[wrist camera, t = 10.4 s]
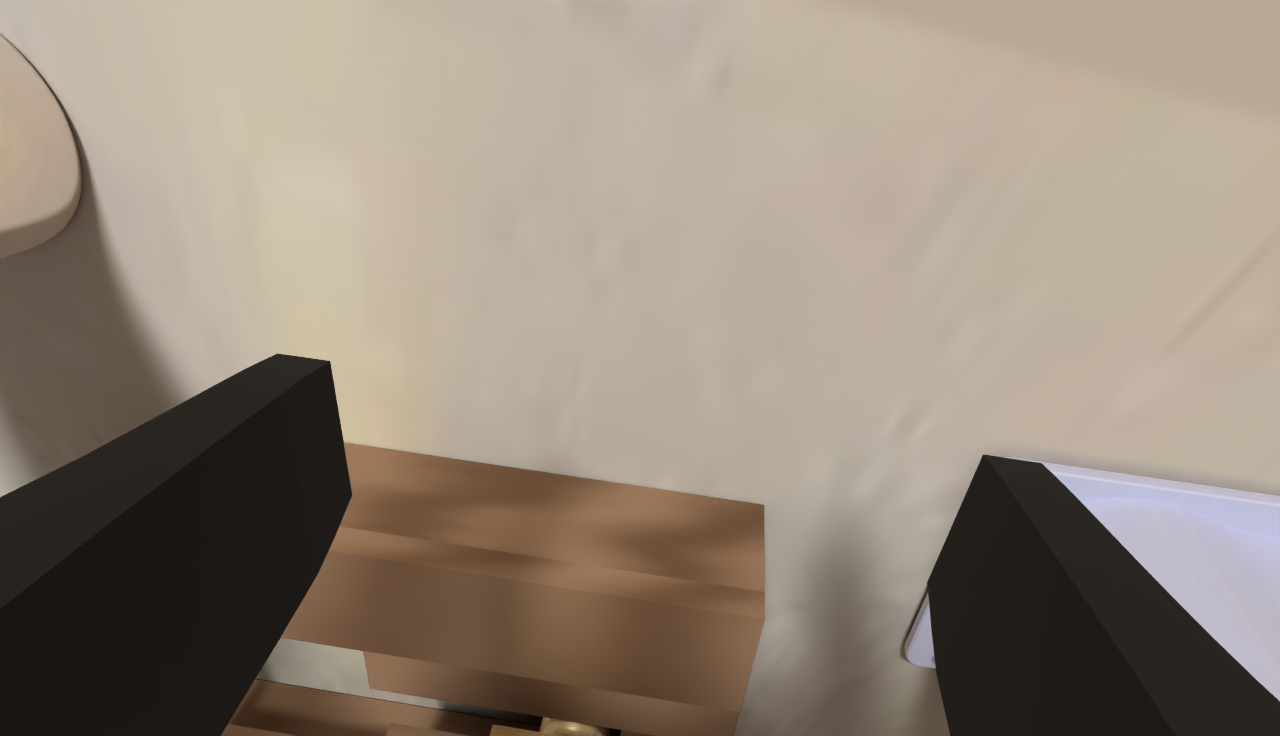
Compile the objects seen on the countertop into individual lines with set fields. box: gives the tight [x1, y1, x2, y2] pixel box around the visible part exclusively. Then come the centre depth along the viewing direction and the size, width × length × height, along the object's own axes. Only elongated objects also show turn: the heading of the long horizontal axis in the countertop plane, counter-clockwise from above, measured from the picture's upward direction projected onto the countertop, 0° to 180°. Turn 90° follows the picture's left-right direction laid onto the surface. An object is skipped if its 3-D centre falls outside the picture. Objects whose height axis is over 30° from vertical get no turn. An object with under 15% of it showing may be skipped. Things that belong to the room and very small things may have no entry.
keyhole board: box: [221, 443, 765, 736], centre depth 25 cm, size 17×14×4 cm
